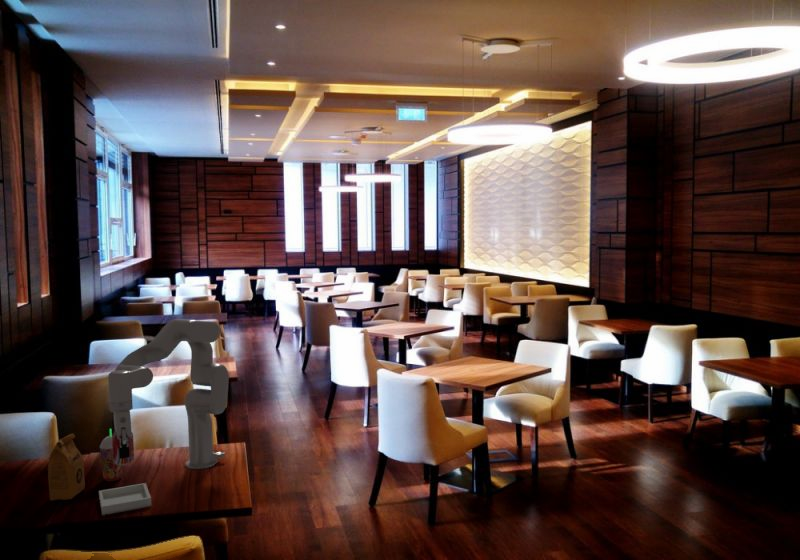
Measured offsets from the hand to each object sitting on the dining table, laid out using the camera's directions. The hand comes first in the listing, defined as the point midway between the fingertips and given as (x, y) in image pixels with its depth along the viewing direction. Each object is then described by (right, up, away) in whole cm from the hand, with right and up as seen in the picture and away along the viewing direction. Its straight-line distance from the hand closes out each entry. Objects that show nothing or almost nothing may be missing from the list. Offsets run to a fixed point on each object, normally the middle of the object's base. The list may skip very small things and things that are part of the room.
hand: (123, 454), depth 244 cm
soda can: (0, -3, 0) cm, 3 cm away
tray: (0, -18, +1) cm, 18 cm away
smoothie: (-14, -16, +24) cm, 32 cm away
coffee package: (-24, -18, +8) cm, 31 cm away
